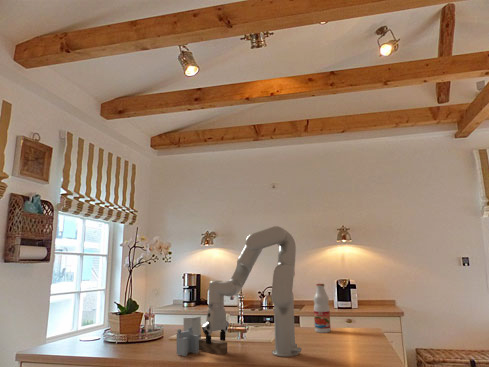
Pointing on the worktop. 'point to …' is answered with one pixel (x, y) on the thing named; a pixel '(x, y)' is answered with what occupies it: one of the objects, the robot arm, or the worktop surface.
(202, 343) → the wooden block
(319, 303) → the fruit juice
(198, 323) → the skincare box
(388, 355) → the worktop surface
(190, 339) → the grey stepped block
